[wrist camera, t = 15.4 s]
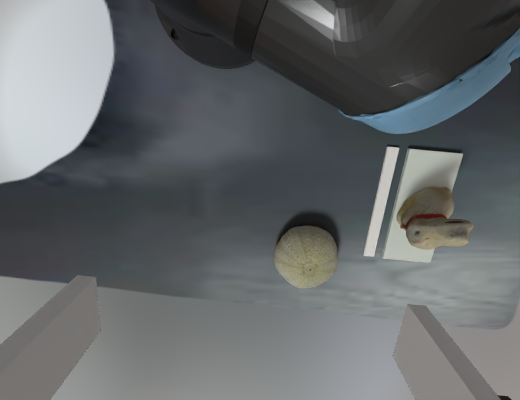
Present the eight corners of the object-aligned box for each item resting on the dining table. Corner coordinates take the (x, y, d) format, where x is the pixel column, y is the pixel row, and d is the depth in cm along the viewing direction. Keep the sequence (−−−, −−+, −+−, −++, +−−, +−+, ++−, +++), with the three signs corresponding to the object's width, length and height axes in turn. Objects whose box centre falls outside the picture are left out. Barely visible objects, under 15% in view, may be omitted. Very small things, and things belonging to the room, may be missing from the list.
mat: (407, 148, 38) (409, 149, 38) (460, 153, 39) (463, 153, 38) (381, 256, 43) (382, 258, 43) (428, 260, 43) (430, 262, 43)
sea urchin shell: (346, 225, 40) (348, 284, 36) (329, 243, 47) (329, 294, 43) (280, 216, 40) (275, 276, 36) (273, 236, 47) (268, 287, 43)
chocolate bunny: (388, 195, 40) (426, 224, 30) (447, 182, 39) (505, 206, 30) (392, 231, 42) (430, 269, 32) (449, 219, 41) (506, 253, 31)
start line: (386, 146, 38) (387, 146, 38) (398, 147, 38) (399, 147, 38) (362, 254, 43) (363, 255, 43) (373, 255, 43) (373, 256, 43)
